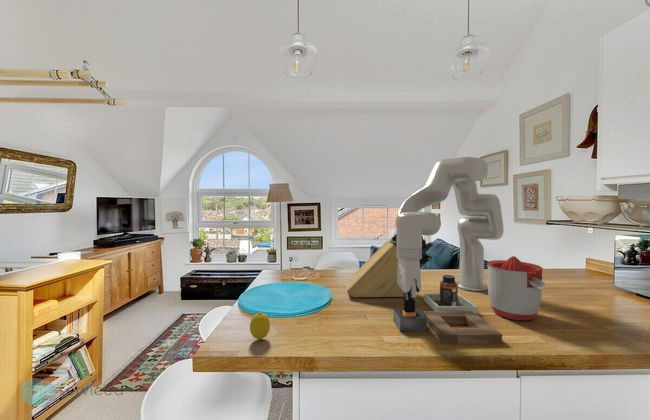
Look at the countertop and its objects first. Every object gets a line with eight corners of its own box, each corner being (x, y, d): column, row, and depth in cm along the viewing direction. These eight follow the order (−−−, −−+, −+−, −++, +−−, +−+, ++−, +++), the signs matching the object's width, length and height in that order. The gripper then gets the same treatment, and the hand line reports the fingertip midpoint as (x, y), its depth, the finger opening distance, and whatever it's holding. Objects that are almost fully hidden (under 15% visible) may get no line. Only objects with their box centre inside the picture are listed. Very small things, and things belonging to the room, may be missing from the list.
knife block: (434, 298, 109) (435, 221, 108) (347, 298, 110) (346, 222, 109) (425, 289, 120) (424, 219, 119) (345, 289, 121) (344, 220, 120)
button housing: (393, 320, 89) (393, 308, 89) (417, 319, 89) (417, 307, 89) (399, 331, 81) (399, 318, 81) (426, 331, 81) (426, 318, 81)
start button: (401, 321, 87) (401, 308, 87) (413, 321, 87) (413, 308, 87) (404, 326, 83) (404, 314, 83) (417, 326, 83) (417, 314, 83)
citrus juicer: (522, 330, 82) (523, 264, 81) (476, 308, 98) (476, 253, 98) (560, 323, 86) (561, 260, 85) (509, 303, 103) (510, 250, 102)
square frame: (422, 318, 90) (422, 311, 90) (471, 318, 90) (471, 310, 90) (443, 343, 74) (443, 334, 74) (502, 343, 74) (502, 334, 74)
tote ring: (423, 299, 107) (423, 293, 107) (458, 299, 107) (458, 293, 107) (437, 314, 94) (437, 307, 93) (477, 314, 93) (477, 306, 93)
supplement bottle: (459, 310, 97) (459, 278, 96) (441, 309, 98) (441, 278, 98) (455, 304, 103) (455, 274, 102) (438, 303, 104) (438, 273, 103)
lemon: (252, 335, 80) (251, 309, 80) (271, 334, 81) (270, 308, 81) (248, 345, 75) (247, 316, 75) (268, 344, 75) (268, 315, 75)
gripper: (391, 249, 92) (391, 302, 93) (403, 258, 77) (403, 322, 78) (413, 248, 92) (413, 302, 93) (430, 258, 77) (430, 321, 78)
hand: (409, 311), depth 85 cm, fingers closed
